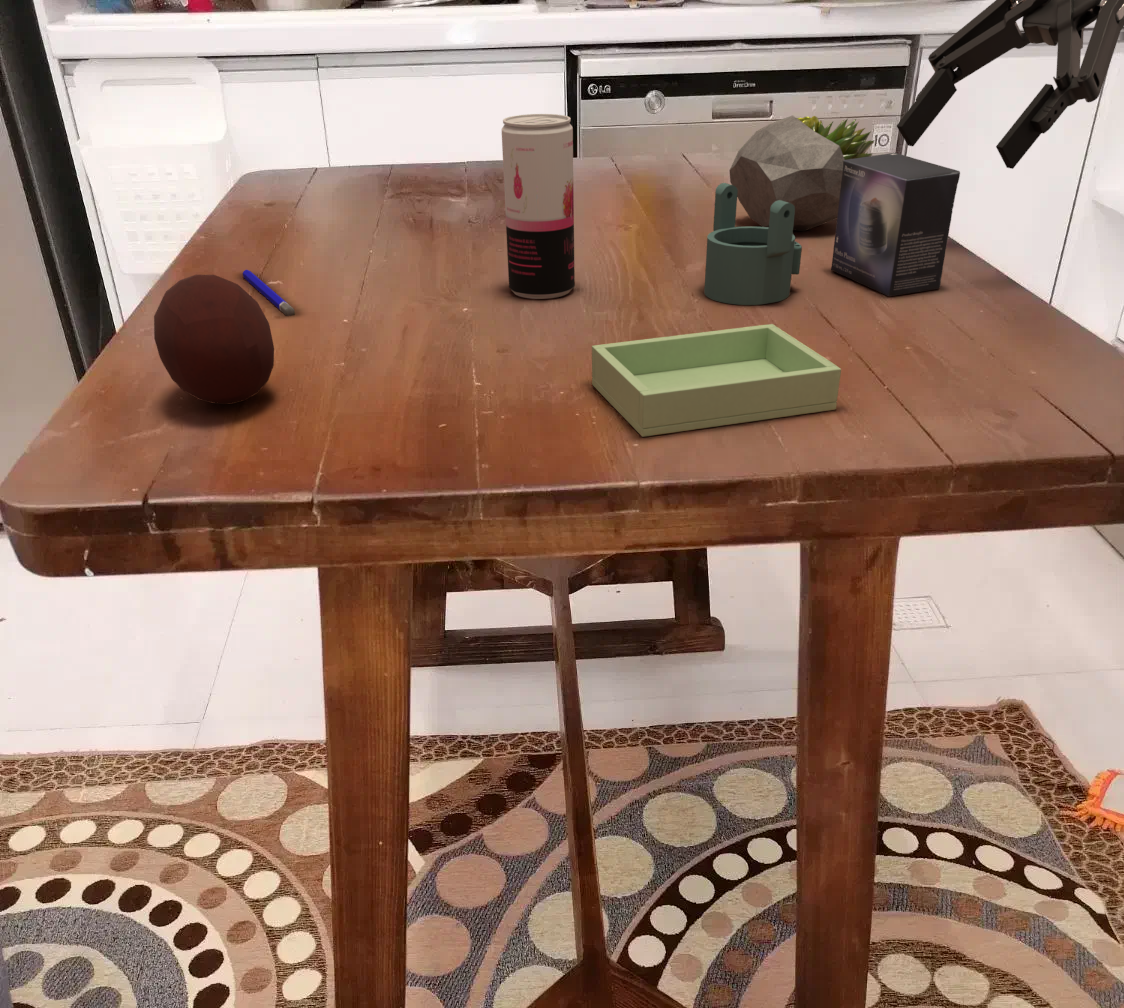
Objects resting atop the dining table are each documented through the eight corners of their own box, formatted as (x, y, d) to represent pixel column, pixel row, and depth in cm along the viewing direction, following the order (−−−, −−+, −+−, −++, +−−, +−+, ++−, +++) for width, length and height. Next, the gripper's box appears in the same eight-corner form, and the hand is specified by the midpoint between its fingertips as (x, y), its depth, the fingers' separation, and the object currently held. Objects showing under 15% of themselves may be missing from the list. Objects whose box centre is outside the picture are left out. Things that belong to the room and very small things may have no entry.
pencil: (296, 317, 105) (294, 306, 104) (286, 318, 105) (285, 308, 104) (249, 276, 117) (248, 266, 116) (241, 277, 117) (239, 267, 116)
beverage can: (588, 291, 109) (587, 118, 100) (536, 304, 106) (530, 127, 97) (547, 278, 113) (543, 111, 104) (496, 290, 110) (486, 119, 101)
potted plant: (719, 185, 131) (830, 137, 132) (766, 274, 130) (879, 226, 131) (734, 112, 120) (857, 60, 120) (787, 209, 118) (911, 156, 119)
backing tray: (836, 409, 83) (841, 368, 81) (642, 437, 79) (643, 394, 77) (769, 361, 91) (772, 323, 90) (591, 384, 88) (591, 345, 86)
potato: (176, 433, 82) (144, 304, 76) (166, 381, 91) (136, 262, 85) (293, 416, 84) (270, 289, 78) (271, 367, 93) (250, 250, 87)
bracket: (781, 309, 103) (792, 205, 98) (688, 299, 106) (693, 197, 101) (804, 285, 110) (816, 186, 104) (716, 276, 113) (723, 179, 107)
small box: (825, 271, 113) (839, 157, 107) (879, 264, 115) (895, 151, 108) (886, 298, 105) (904, 176, 99) (942, 289, 107) (964, 169, 101)
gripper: (1238, -14, 95) (1066, 197, 99) (1022, -25, 113) (884, 154, 117) (1217, -89, 90) (1036, 136, 94) (995, -89, 108) (851, 101, 112)
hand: (951, 147), depth 105 cm, fingers open, 13 cm apart
